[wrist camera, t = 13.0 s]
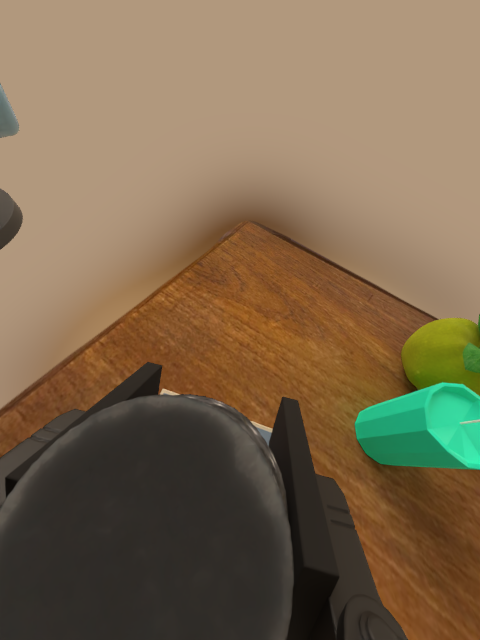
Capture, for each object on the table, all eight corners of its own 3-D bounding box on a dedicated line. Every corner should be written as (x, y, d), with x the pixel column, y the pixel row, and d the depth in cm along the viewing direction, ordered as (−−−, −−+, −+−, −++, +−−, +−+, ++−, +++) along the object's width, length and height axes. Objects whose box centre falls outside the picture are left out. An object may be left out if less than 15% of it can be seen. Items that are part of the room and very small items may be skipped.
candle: (357, 398, 28) (438, 364, 18) (408, 418, 27) (523, 394, 17) (351, 452, 25) (444, 448, 15) (408, 475, 24) (549, 489, 14)
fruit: (371, 370, 30) (432, 335, 21) (406, 331, 33) (470, 287, 25) (437, 430, 27) (541, 417, 18) (468, 380, 30) (567, 349, 22)
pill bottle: (260, 434, 14) (339, 388, 5) (244, 572, 11) (385, 1206, 2) (163, 414, 14) (57, 334, 5) (120, 546, 11) (-386, 1005, 2)
